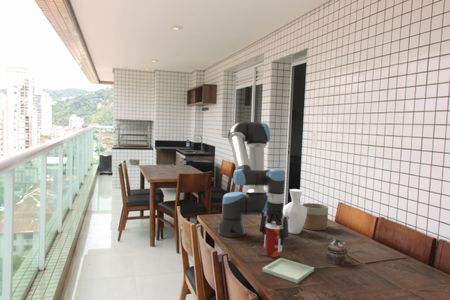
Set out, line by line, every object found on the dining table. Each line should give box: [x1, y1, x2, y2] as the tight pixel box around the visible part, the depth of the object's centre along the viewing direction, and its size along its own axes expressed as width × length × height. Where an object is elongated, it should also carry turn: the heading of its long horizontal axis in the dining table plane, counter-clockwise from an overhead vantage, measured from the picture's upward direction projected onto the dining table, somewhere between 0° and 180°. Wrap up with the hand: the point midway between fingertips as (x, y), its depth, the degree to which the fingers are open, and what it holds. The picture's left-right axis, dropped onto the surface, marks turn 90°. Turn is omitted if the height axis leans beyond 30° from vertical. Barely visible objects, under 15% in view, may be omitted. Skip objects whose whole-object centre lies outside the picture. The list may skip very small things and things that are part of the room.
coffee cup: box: [265, 221, 283, 258], centre depth 161 cm, size 8×8×15 cm
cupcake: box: [325, 238, 348, 266], centre depth 158 cm, size 10×10×10 cm
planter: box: [301, 202, 329, 232], centre depth 214 cm, size 16×16×14 cm
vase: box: [283, 188, 307, 235], centre depth 202 cm, size 14×14×25 cm
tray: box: [262, 257, 315, 284], centre depth 144 cm, size 16×16×2 cm
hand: (272, 249), depth 162 cm, fingers closed on coffee cup, 7 cm apart
